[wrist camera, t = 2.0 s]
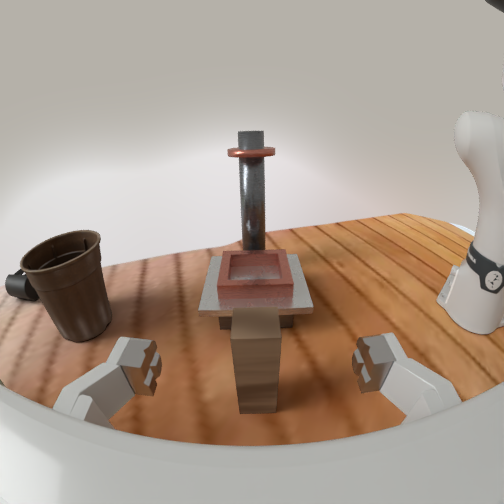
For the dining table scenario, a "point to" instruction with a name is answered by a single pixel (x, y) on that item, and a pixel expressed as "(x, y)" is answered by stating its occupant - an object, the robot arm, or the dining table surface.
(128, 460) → the robot arm
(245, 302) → the bracket
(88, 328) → the plant pot
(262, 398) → the tall wooden post
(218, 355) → the dining table surface
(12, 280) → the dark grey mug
